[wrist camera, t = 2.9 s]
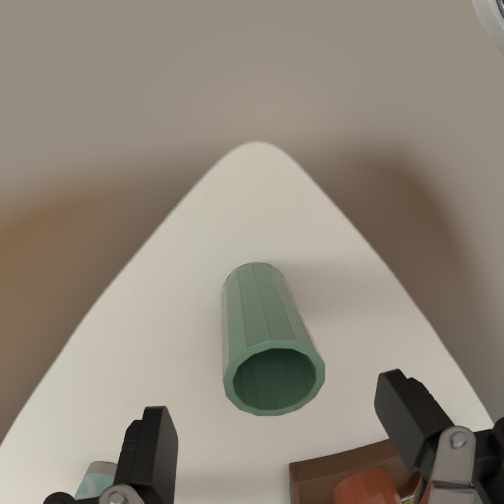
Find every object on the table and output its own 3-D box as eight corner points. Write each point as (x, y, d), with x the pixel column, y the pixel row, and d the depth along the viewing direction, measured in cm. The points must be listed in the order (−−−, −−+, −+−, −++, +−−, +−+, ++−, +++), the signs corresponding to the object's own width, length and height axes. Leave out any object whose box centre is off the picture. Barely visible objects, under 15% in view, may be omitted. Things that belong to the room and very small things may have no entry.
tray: (436, 421, 28) (446, 436, 25) (409, 481, 32) (415, 494, 30) (288, 463, 27) (293, 482, 25) (291, 514, 31) (294, 529, 29)
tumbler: (391, 457, 29) (412, 500, 22) (380, 485, 31) (397, 523, 25) (333, 474, 29) (349, 522, 22) (329, 499, 31) (341, 541, 24)
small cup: (284, 257, 20) (325, 331, 12) (288, 316, 22) (324, 407, 13) (218, 266, 20) (215, 347, 12) (227, 325, 22) (231, 422, 13)
